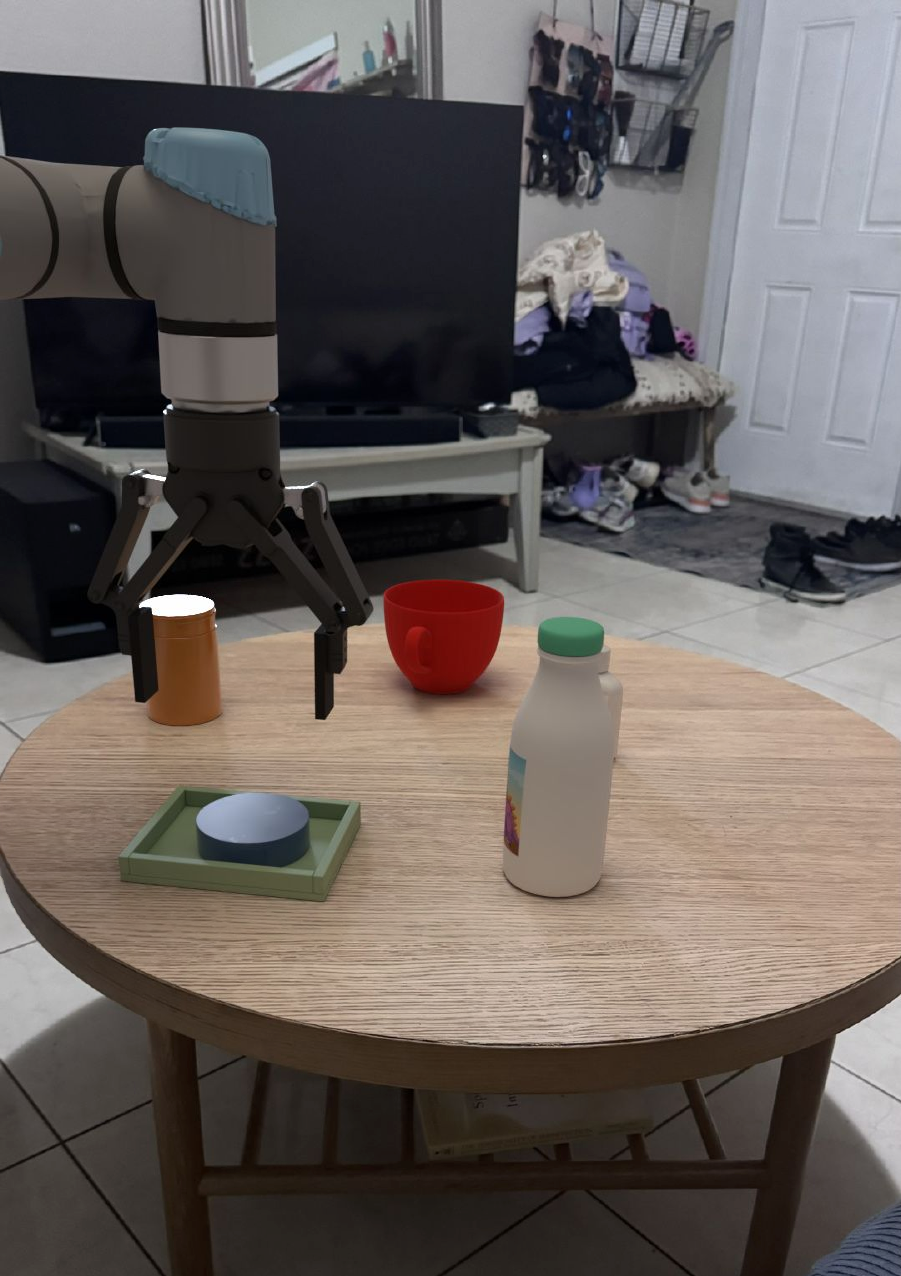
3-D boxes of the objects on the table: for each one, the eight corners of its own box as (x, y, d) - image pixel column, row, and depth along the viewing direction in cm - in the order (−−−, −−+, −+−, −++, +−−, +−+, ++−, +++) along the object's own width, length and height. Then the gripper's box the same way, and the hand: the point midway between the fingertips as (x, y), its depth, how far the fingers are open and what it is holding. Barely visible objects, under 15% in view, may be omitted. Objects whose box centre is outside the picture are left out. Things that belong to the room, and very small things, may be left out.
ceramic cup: (350, 707, 117) (349, 614, 112) (407, 658, 131) (408, 574, 127) (469, 725, 113) (472, 630, 109) (513, 673, 128) (518, 587, 123)
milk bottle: (617, 867, 88) (644, 620, 79) (575, 910, 82) (600, 649, 73) (529, 841, 91) (546, 602, 82) (483, 881, 85) (496, 628, 76)
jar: (136, 722, 111) (125, 613, 106) (164, 696, 118) (154, 592, 113) (208, 728, 110) (200, 618, 105) (231, 702, 117) (225, 597, 112)
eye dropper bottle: (578, 767, 105) (589, 644, 99) (555, 744, 109) (564, 626, 104) (621, 763, 106) (634, 641, 101) (596, 740, 111) (607, 623, 105)
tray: (120, 880, 84) (117, 856, 83) (180, 807, 95) (178, 784, 94) (323, 901, 82) (323, 876, 81) (360, 824, 93) (360, 801, 92)
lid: (322, 863, 86) (321, 834, 85) (208, 880, 83) (206, 851, 82) (295, 813, 93) (294, 786, 92) (189, 828, 90) (187, 800, 89)
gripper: (417, 408, 76) (409, 701, 85) (66, 386, 78) (96, 672, 88) (397, 423, 69) (390, 740, 78) (13, 398, 72) (52, 707, 81)
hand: (235, 705), depth 83 cm, fingers open, 13 cm apart
